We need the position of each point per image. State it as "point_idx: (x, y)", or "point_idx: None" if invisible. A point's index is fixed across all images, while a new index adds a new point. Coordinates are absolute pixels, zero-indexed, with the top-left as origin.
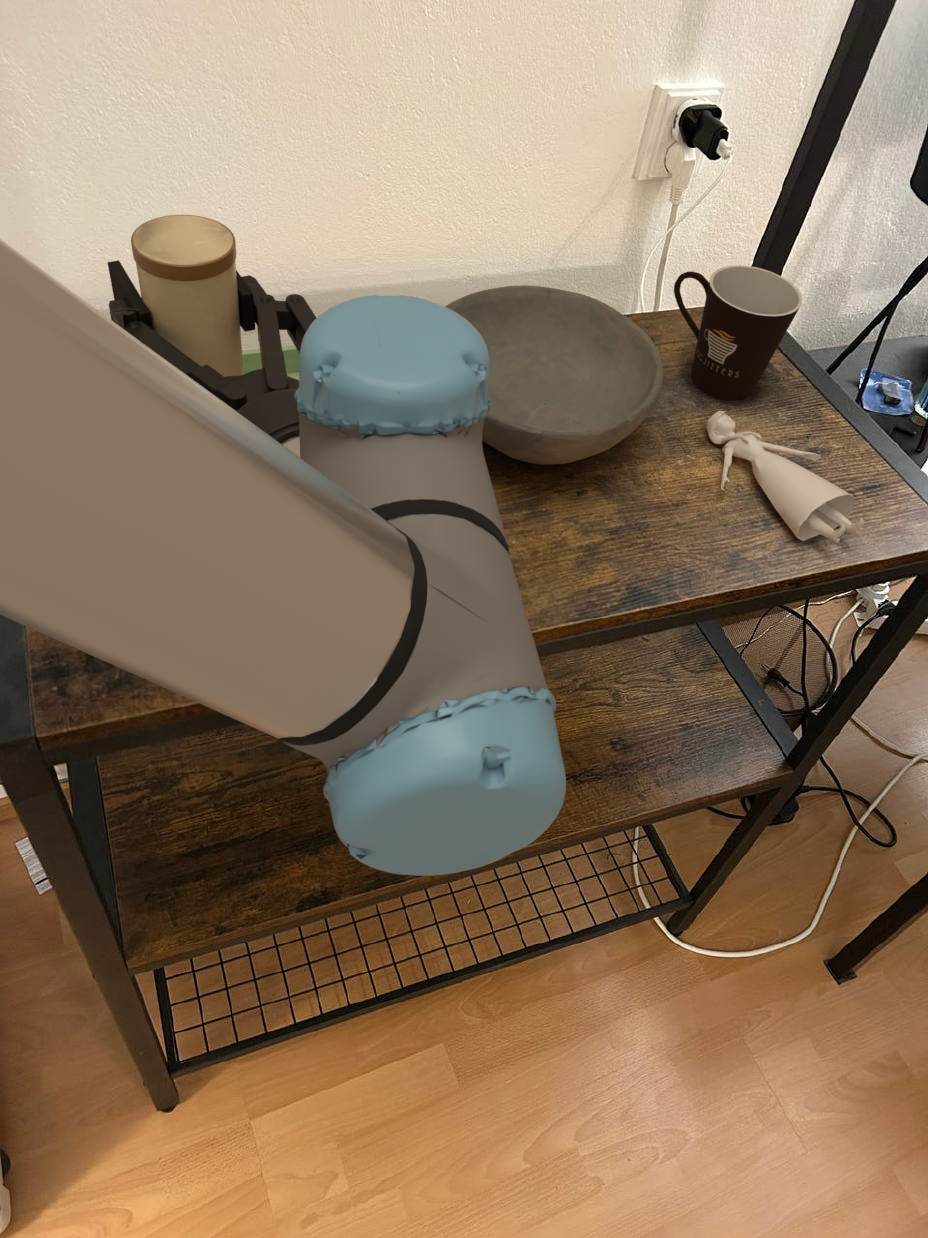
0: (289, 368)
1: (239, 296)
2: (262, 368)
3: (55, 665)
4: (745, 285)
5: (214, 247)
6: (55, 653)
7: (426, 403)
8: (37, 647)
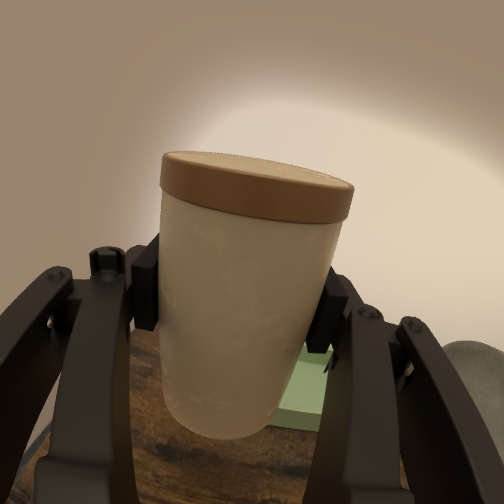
0: (323, 361)
1: (322, 296)
2: (315, 456)
3: (23, 500)
4: None
5: (311, 178)
6: (29, 493)
7: None
8: (24, 480)
